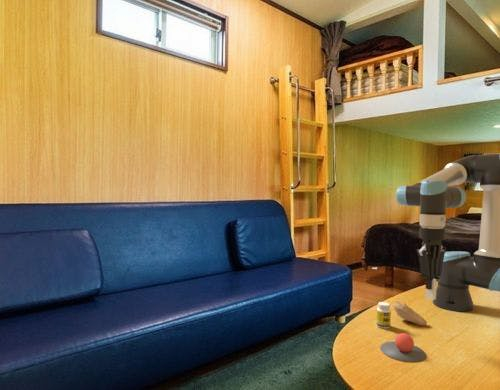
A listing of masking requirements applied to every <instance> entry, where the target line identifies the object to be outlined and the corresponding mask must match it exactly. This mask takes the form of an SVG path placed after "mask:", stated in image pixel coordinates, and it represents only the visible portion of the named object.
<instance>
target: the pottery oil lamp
mask: <svg viewBox="0 0 500 390" xmlns="http://www.w3.org/2000/svg"><path fill="white" fill-rule="evenodd" d="M392 306H393V308H394V311H395V312H396V315H397V317H400V318H401V319H403V320H405V321H406V322H410V323H413V324H416V325H418V326H420V327H421V326H426V325H427V323H428V322H427V321H426V319H425V318H423V316H422V315H420V314H419V313H418V312H417V311H415V310H414V309H413V308H412V307H409V305H407V304H406V303H404V302H401V301H397V300H395V301H394V303H392Z"/></svg>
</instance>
